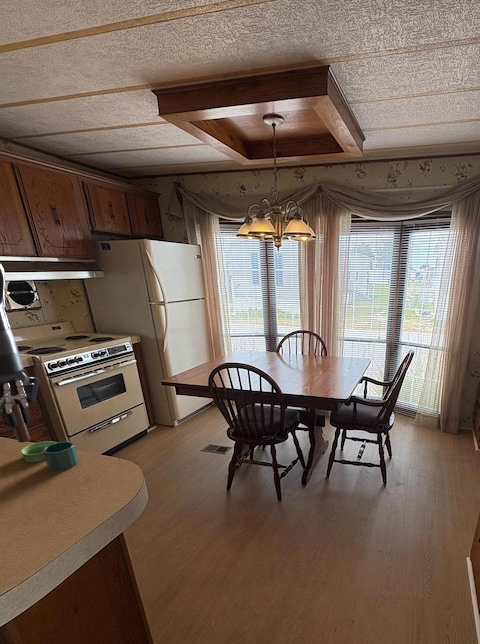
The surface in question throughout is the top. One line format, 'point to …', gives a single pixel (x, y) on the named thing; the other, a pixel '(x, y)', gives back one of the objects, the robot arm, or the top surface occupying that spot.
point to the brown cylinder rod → (20, 424)
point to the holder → (60, 456)
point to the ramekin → (35, 451)
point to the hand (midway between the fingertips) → (18, 424)
